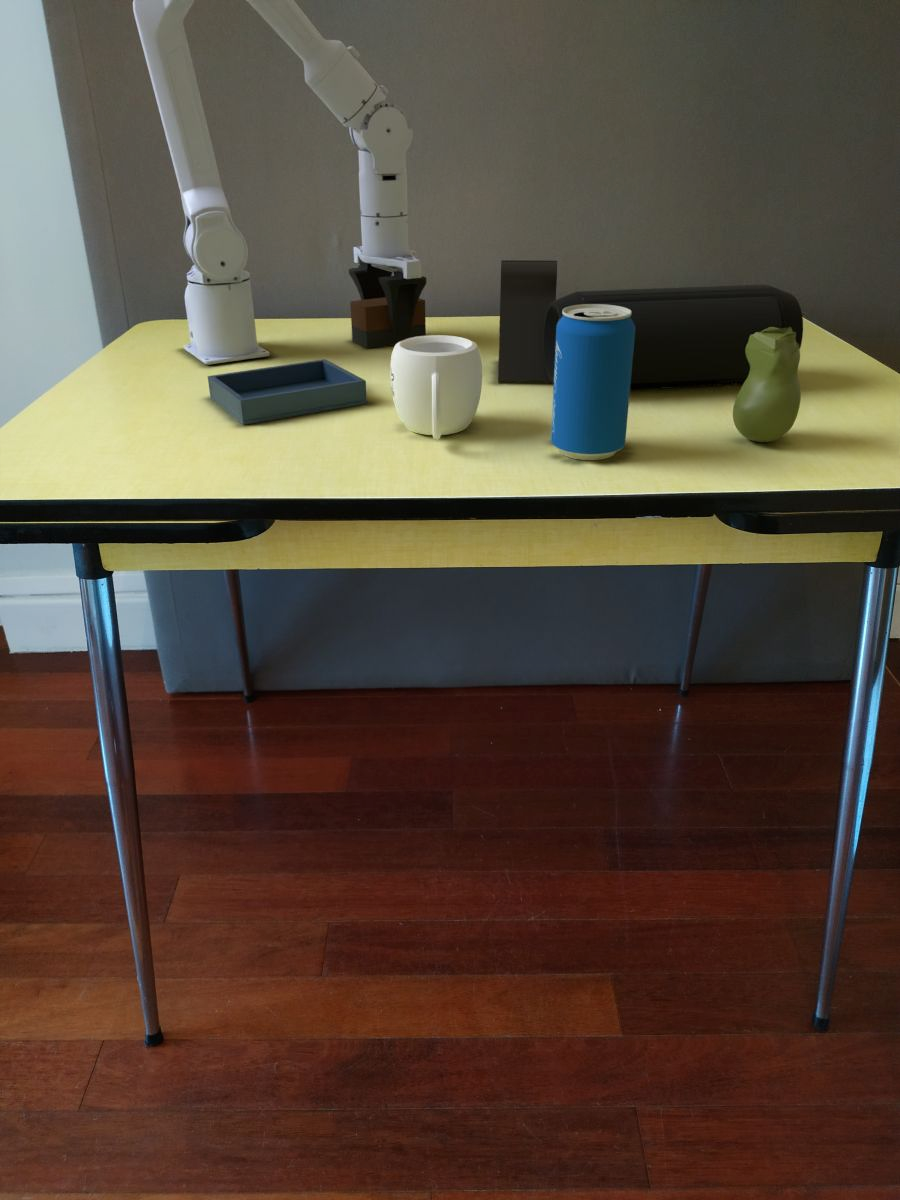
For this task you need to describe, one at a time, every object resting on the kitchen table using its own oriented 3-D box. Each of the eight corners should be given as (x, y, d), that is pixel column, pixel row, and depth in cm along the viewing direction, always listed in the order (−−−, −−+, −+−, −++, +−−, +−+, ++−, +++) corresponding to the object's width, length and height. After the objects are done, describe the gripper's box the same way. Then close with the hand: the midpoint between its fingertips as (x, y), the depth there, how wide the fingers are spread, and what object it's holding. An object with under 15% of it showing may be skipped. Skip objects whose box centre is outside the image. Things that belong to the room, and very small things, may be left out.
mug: (394, 414, 90) (391, 333, 86) (479, 413, 90) (480, 332, 86) (388, 456, 79) (384, 366, 76) (485, 455, 79) (486, 365, 76)
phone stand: (552, 384, 99) (558, 268, 93) (497, 383, 99) (499, 268, 93) (551, 363, 107) (556, 254, 101) (500, 362, 107) (502, 254, 101)
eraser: (352, 341, 117) (349, 301, 114) (409, 333, 120) (408, 294, 118) (367, 348, 113) (365, 307, 111) (426, 340, 117) (425, 300, 115)
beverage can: (544, 439, 83) (550, 303, 77) (614, 437, 83) (625, 302, 78) (557, 464, 77) (565, 320, 71) (632, 461, 78) (646, 318, 72)
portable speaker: (755, 367, 104) (770, 276, 99) (797, 391, 96) (815, 293, 91) (539, 378, 101) (542, 284, 96) (562, 404, 92) (568, 303, 87)
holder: (210, 398, 95) (207, 376, 94) (326, 380, 101) (325, 358, 100) (243, 425, 87) (240, 400, 86) (367, 403, 93) (366, 380, 92)
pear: (804, 446, 81) (826, 331, 76) (754, 453, 79) (773, 337, 74) (764, 427, 86) (782, 318, 81) (716, 434, 84) (732, 323, 79)
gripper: (443, 218, 106) (444, 336, 112) (386, 207, 117) (390, 315, 123) (389, 222, 103) (393, 344, 109) (336, 210, 114) (343, 321, 120)
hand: (388, 329), depth 116 cm, fingers open, 6 cm apart
